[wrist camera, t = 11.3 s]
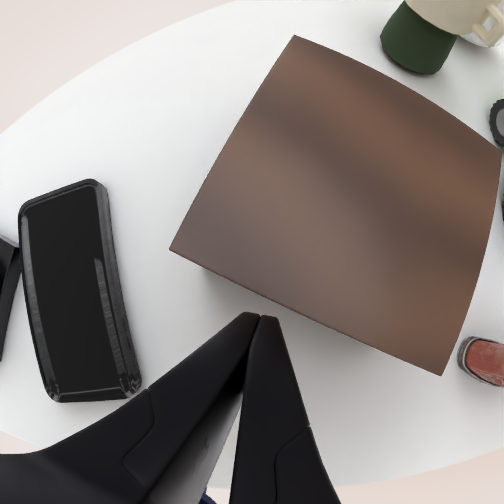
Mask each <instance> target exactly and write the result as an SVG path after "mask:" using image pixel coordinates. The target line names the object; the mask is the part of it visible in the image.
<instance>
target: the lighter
mask: <svg viewBox="0 0 504 504" xmlns="http://www.w3.org/2000/svg"><path fill="white" fill-rule="evenodd" d="M457 362H458V365H459V367H460V368H461V369H462V370H464V371H465V372H466V373H467V374H469V375H470V376H471V377H473V378H475V379H477V380H479V381H481V382H483V383H486V384H489V385H493V386H497V387H504V344H501V343H498V342H496V341H493V340H490V339H484V338H478V337H468V338H467V339H465V340H464V341H463V343H462V344H461V346H460V348H459V351H458V354H457Z"/></svg>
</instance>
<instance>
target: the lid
mask: <svg viewBox="0 0 504 504" xmlns="http://www.w3.org/2000/svg"><path fill="white" fill-rule="evenodd" d="M501 159H502V152H501V151H500V150H498V149H497V148H496V147H495V146H493V145H492V144H491V143H490V142H488V141H487V140H486V139H485V138H483V137H482V136H481V135H479V134H478V133H477V132H475V131H474V130H473V129H471V128H470V127H468V126H467V125H466V124H464V123H463V122H461V121H460V120H459V119H457V118H456V117H454V116H453V115H451V114H450V113H448V112H447V111H445V110H444V109H442V108H441V107H439V106H438V105H436V104H435V103H433V102H431V101H430V100H428V99H427V98H425V97H423V96H422V95H420V94H418V93H417V92H415V91H413V90H412V89H410V88H408V87H406V86H405V85H403V84H401V83H399V82H397V81H396V80H394V79H392V78H390V77H388V76H386V75H384V74H382V73H381V72H379V71H377V70H375V69H373V68H371V67H369V66H367V65H365V64H363V63H360V62H358V61H356V60H354V59H352V58H350V57H348V56H345V55H343V54H341V53H339V52H336V51H334V50H332V49H329V48H327V47H324V46H322V45H319V44H317V43H314V42H312V41H309V40H307V39H304V38H301V37H299V36H296V35H294V36H293V37H292V38H291V40H290V41H289V43H288V44H287V46H286V47H285V49H284V50H283V52H282V53H281V55H280V56H279V58H278V59H277V61H276V62H275V64H274V65H273V67H272V69H271V70H270V72H269V73H268V75H267V76H266V78H265V79H264V81H263V83H262V84H261V86H260V87H259V89H258V91H257V92H256V94H255V95H254V97H253V99H252V100H251V102H250V103H249V105H248V107H247V108H246V110H245V112H244V113H243V115H242V117H241V118H240V120H239V122H238V123H237V125H236V127H235V128H234V130H233V132H232V133H231V135H230V137H229V138H228V140H227V142H226V144H225V145H224V147H223V149H222V151H221V152H220V154H219V156H218V158H217V159H216V161H215V163H214V165H213V166H212V168H211V170H210V172H209V174H208V175H207V177H206V179H205V181H204V183H203V185H202V186H201V188H200V190H199V192H198V194H197V196H196V197H195V199H194V201H193V203H192V205H191V207H190V209H189V211H188V213H187V214H186V216H185V218H184V220H183V222H182V224H181V226H180V228H179V230H178V232H177V234H176V236H175V238H174V240H173V242H172V244H171V246H170V248H169V250H170V251H172V252H174V253H176V254H178V255H180V256H182V257H184V258H186V259H188V260H190V261H192V262H194V263H196V264H198V265H200V266H202V267H204V268H206V269H208V270H210V271H212V272H214V273H216V274H218V275H220V276H222V277H224V278H226V279H228V280H230V281H232V282H234V283H236V284H238V285H240V286H242V287H244V288H246V289H248V290H250V291H253V292H255V293H257V294H259V295H261V296H263V297H265V298H267V299H269V300H271V301H273V302H275V303H278V304H280V305H282V306H284V307H286V308H288V309H290V310H292V311H295V312H297V313H299V314H301V315H303V316H305V317H307V318H309V319H312V320H314V321H316V322H318V323H320V324H322V325H325V326H327V327H329V328H331V329H333V330H336V331H338V332H340V333H342V334H344V335H347V336H349V337H351V338H353V339H355V340H358V341H360V342H362V343H364V344H367V345H369V346H371V347H373V348H376V349H378V350H380V351H382V352H385V353H387V354H389V355H392V356H394V357H396V358H399V359H401V360H403V361H405V362H408V363H410V364H412V365H415V366H417V367H420V368H422V369H424V370H427V371H429V372H431V373H434V374H436V375H439V376H442V374H443V372H444V369H445V367H446V365H447V363H448V360H449V358H450V356H451V353H452V351H453V348H454V346H455V343H456V341H457V338H458V336H459V333H460V331H461V328H462V325H463V323H464V320H465V317H466V314H467V311H468V308H469V306H470V303H471V300H472V296H473V293H474V290H475V287H476V284H477V280H478V277H479V273H480V270H481V266H482V262H483V259H484V255H485V251H486V247H487V242H488V238H489V233H490V229H491V224H492V219H493V214H494V208H495V203H496V197H497V190H498V184H499V176H500V168H501Z"/></svg>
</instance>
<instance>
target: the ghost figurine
mask: <svg viewBox="0 0 504 504" xmlns="http://www.w3.org/2000/svg"><path fill="white" fill-rule="evenodd" d="M496 8H497V9H498V10H499V11H500V12H501V13H502V14H503V16H504V0H502V1H501V2H500V3H499V5H498V6H497V7H496ZM494 24H495V21H494V19H493V18H492V17H491V16H489V18H488V19H487V20H486V21H485V23H484V24H483V25H482V26H483V28H484V29H485V30H486V31H487V32H488V31H489V30H490V29H491V28H492V27H493V26H494ZM460 36H461V37H462V38H464V39H465V40H467V41H469V42H471V43H473V44H476V45H479V46H485V47H488V46H487V45H485V44H484V43H483V42H482V41H481V40H480V39H479V38H478V36H477V35H476V34H475V33H474V32H473V33H470V34H467V35H460ZM503 43H504V35H503V36H502V37H501V38H500V39H499V40H498V41H497V42H496V44H495V45H494V46H498V45H500V44H503Z"/></svg>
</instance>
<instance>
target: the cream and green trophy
mask: <svg viewBox="0 0 504 504" xmlns="http://www.w3.org/2000/svg"><path fill="white" fill-rule="evenodd" d="M501 1H502V0H404V1H403V2H402V4H401V5H400V6H399V7H398V9H397V10H396V11H395V13H394V14H393V15H392V16H391V18H390V19H389V21H388V22H387V24H386V25H385V27H384V28H383V31H382V33H381V35H380V38H381V42H382V46H383V49H384V50H385V51H386V52H387V53H388V55H389V56H390V57H391V59H392V60H394V61H396V62H397V63H399V64H400V65H402V66H403V67H405V68H407V69H410V70H413V71H415V72H418V73H424V74H434V73H436V72H437V71H439V70H440V68H441V67H442V65H443V63H444V62H445V60H446V59H447V57H448V55H449V53H450V51H451V49H452V47H453V45H454V43H455V41H456V39H457V35H467V34H470V33H473V32H474V33H475V34H476V35H477V36H478V38H479V39H480V40H481V41H482V42H483V43H484V44H485V45H487V46H488V47H492V46H494V45H495V44H496V42H497V41H498V40H499V39H500V38H501V37H502V36H503V35H504V16H503V14H502V13H501V12H500V11H499V10H498V9H497V8H496V7H497V6H498V5H499V3H500V2H501ZM489 16H491V17H492V18H493V19H494V21H495V24H494V26H493V27H492V28H491V29H490V30H489V31H488V32H487V31H486V30H485V29H484V28H483V26H482V25H483V24H484V23H485V21H486V20H487V19H488V18H489Z"/></svg>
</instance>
